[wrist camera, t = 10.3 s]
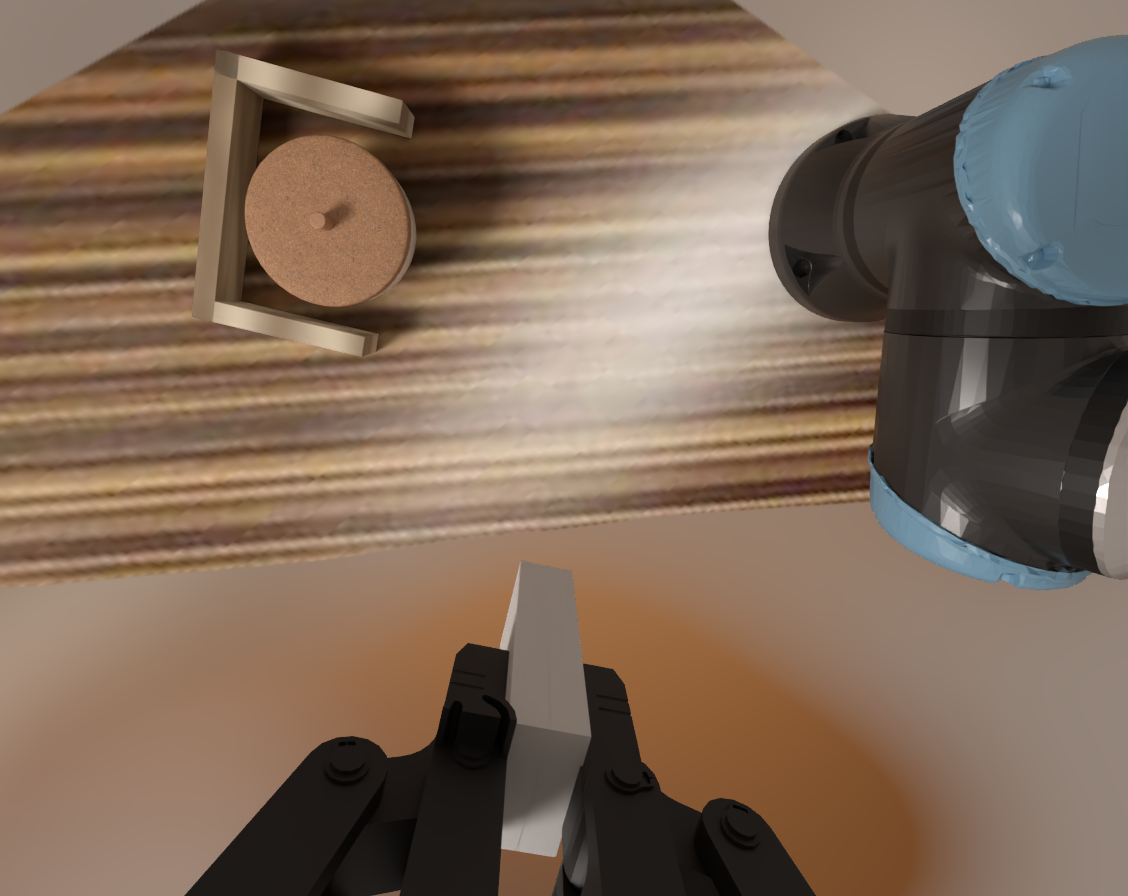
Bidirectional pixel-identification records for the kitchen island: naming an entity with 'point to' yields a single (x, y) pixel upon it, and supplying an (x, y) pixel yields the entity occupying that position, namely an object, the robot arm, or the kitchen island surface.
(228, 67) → the birch dock
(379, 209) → the lidded jar
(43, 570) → the kitchen island surface
